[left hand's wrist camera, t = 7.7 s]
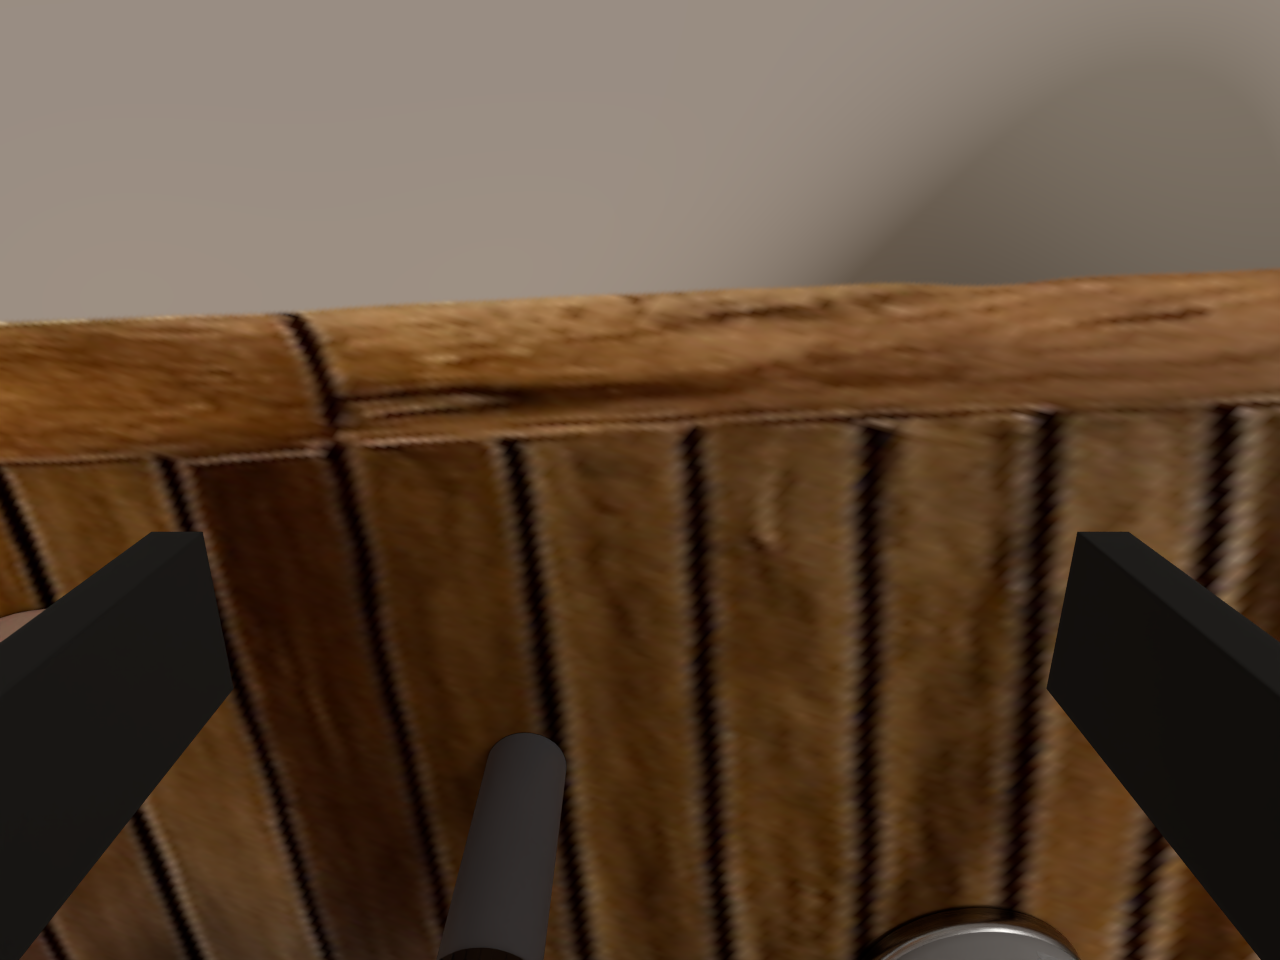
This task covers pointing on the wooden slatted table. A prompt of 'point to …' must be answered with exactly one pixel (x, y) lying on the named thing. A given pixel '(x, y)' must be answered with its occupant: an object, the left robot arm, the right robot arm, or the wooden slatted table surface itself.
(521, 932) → the dark grey cylinder
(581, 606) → the wooden slatted table surface
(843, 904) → the wooden slatted table surface
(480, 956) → the lid
